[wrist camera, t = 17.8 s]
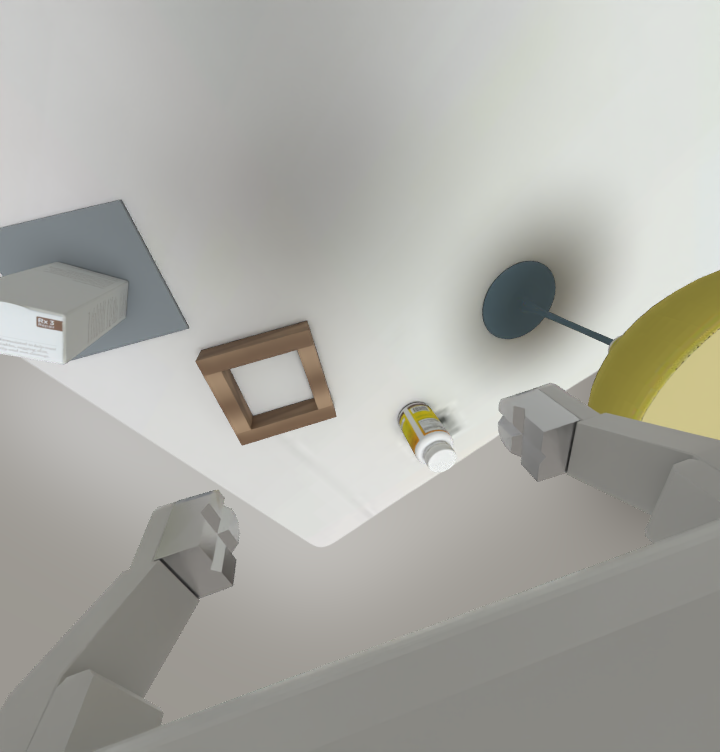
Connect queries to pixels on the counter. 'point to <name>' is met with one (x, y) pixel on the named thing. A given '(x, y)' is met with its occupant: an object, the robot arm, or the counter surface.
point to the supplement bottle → (427, 437)
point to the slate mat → (99, 266)
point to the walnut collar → (254, 349)
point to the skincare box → (58, 311)
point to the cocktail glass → (633, 349)
